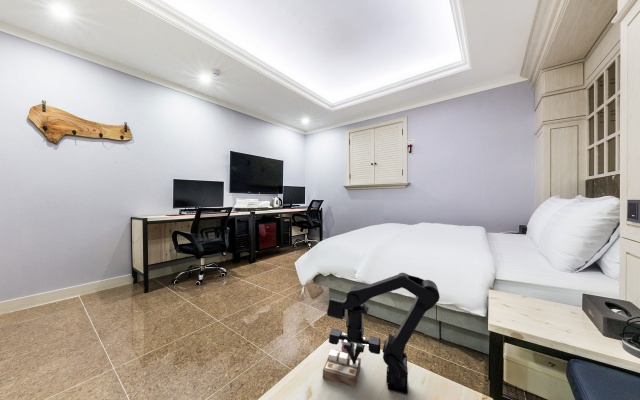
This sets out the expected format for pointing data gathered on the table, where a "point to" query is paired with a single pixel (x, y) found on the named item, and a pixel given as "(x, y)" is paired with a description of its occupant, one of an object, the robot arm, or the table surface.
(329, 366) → the keypad
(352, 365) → the key
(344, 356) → the key middle
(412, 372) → the table surface
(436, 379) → the table surface
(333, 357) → the key
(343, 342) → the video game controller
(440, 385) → the table surface
